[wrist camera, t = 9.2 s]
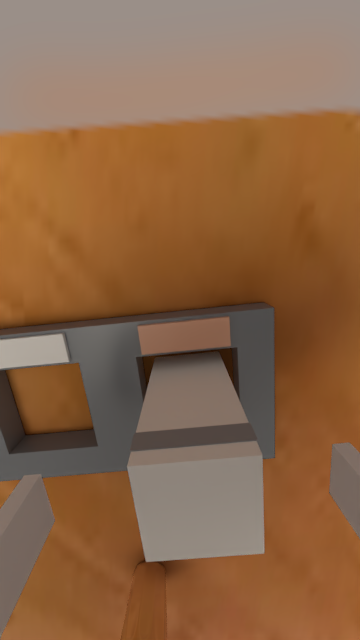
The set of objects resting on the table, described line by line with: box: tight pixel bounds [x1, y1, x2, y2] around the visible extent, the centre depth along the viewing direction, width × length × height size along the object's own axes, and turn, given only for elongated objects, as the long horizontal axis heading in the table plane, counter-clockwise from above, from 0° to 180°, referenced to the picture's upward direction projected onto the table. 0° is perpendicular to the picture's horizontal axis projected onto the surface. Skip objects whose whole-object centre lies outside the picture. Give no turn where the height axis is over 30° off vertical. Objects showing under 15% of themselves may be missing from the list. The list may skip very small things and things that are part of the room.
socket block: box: [0, 302, 275, 481], centre depth 18 cm, size 23×12×2 cm, turn 96°
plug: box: [127, 351, 264, 562], centre depth 14 cm, size 5×5×10 cm
